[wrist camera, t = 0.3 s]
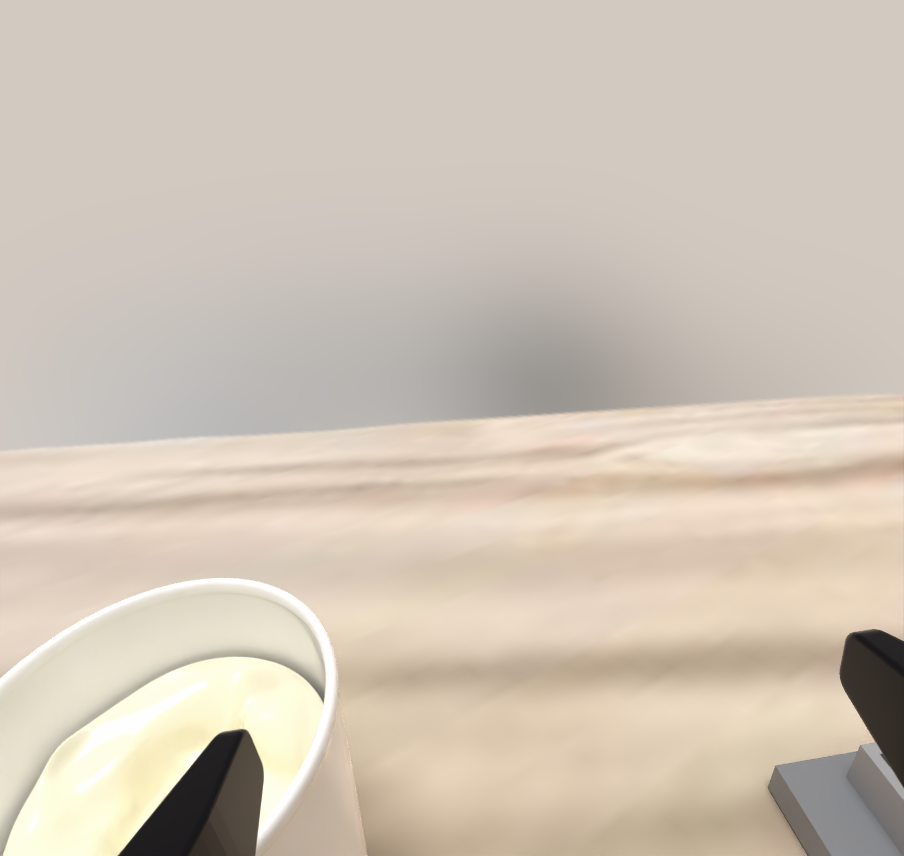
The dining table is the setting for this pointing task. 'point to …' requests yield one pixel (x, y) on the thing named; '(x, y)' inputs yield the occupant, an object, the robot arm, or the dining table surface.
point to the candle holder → (176, 721)
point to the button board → (843, 803)
